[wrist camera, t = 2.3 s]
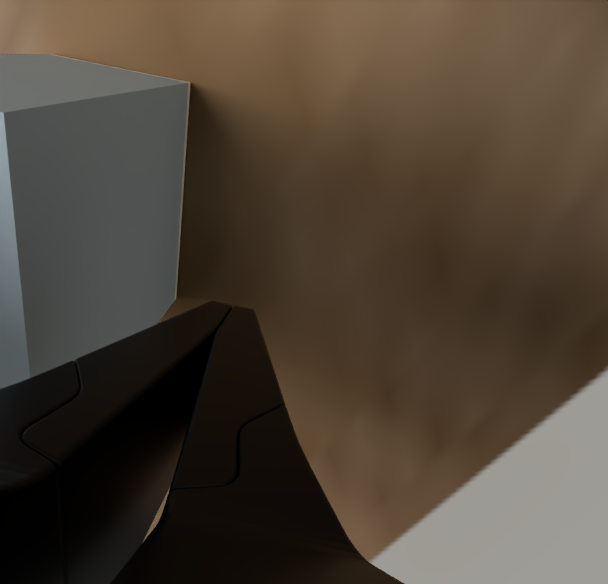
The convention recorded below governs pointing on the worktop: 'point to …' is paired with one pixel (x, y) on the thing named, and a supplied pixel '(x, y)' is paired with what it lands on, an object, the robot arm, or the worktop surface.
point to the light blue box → (85, 206)
